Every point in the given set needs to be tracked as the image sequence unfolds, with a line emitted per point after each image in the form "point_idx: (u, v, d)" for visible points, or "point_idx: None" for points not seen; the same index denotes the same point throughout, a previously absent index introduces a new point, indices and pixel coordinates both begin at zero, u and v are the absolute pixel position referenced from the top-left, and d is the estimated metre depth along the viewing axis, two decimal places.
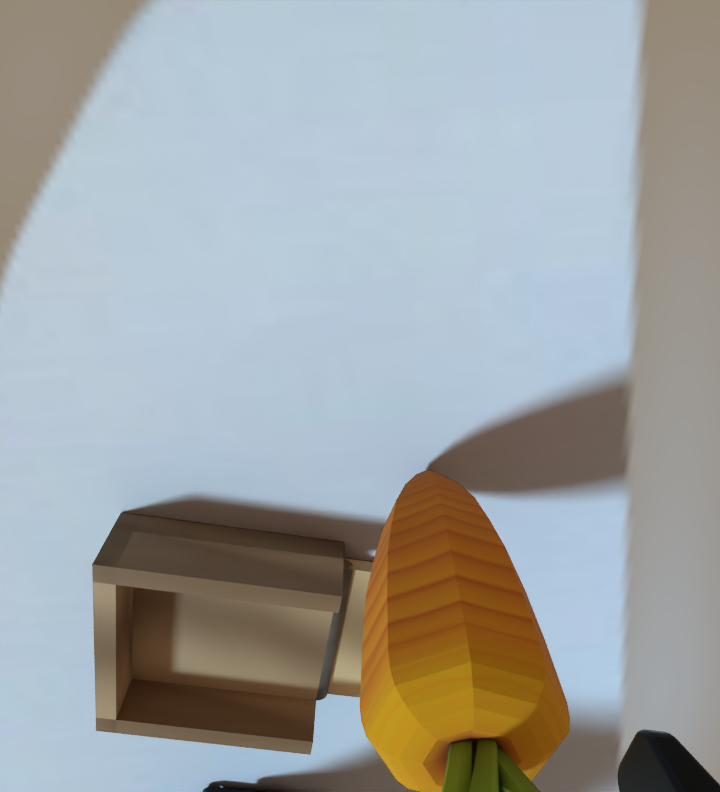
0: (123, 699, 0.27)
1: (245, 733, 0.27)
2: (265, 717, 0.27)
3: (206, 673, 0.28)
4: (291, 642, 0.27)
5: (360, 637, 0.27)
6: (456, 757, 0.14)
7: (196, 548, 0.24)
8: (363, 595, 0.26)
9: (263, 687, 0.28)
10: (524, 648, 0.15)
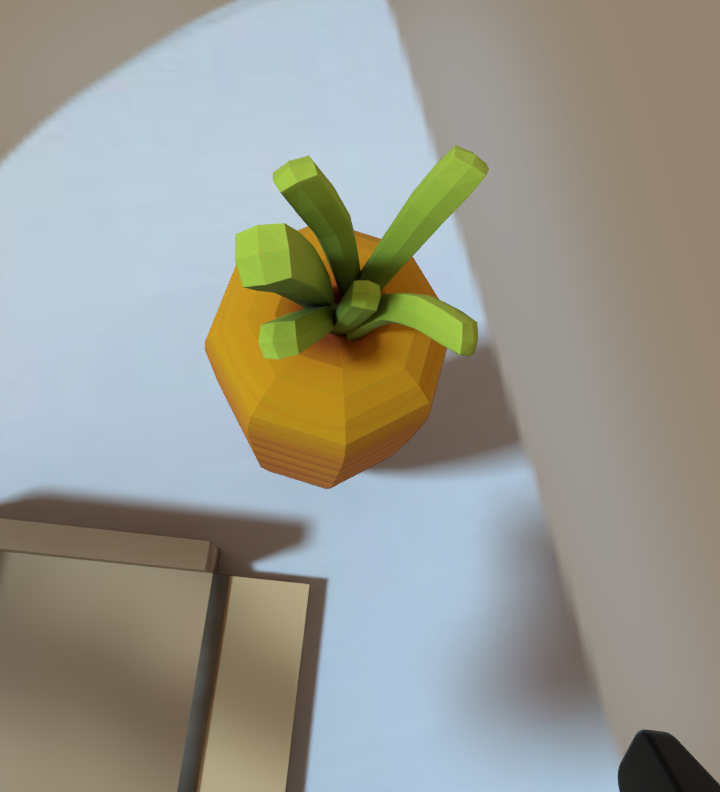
0: None
1: None
2: None
3: None
4: (138, 710, 0.19)
5: (240, 703, 0.19)
6: None
7: None
8: (243, 620, 0.20)
9: None
10: None
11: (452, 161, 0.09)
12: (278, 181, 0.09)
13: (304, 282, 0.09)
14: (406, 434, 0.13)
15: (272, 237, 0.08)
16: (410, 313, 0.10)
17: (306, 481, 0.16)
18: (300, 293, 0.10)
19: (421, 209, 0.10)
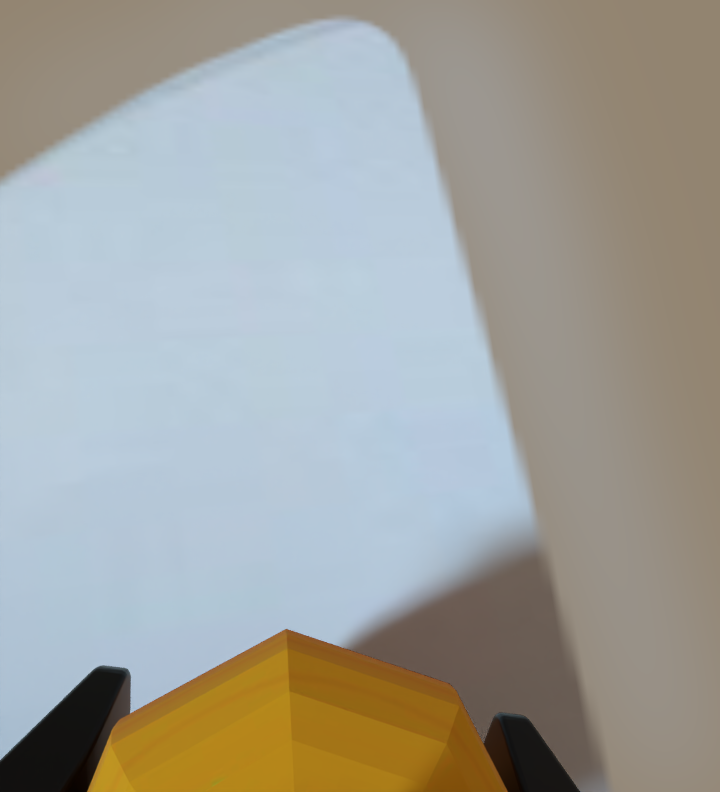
0: None
1: None
2: None
3: None
4: None
5: None
6: None
7: None
8: None
9: None
10: (411, 672, 0.07)
11: None
12: None
13: None
14: None
15: None
16: None
17: None
18: None
19: None
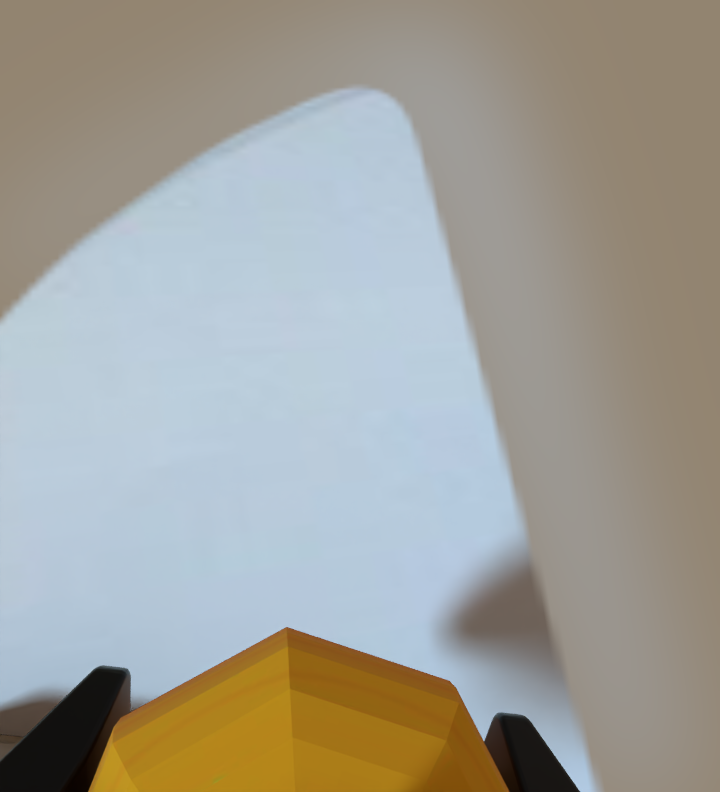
0: None
1: None
2: None
3: None
4: None
5: None
6: None
7: None
8: None
9: None
10: (411, 669, 0.07)
11: None
12: None
13: None
14: None
15: None
16: None
17: None
18: None
19: None
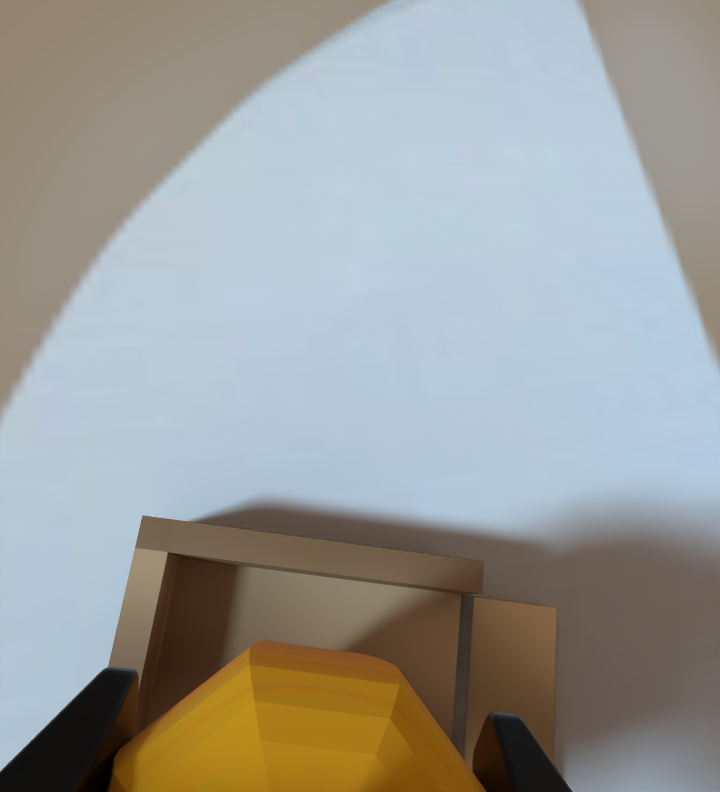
0: None
1: None
2: None
3: None
4: None
5: None
6: None
7: None
8: (492, 646, 0.19)
9: None
10: (362, 662, 0.08)
11: None
12: None
13: None
14: None
15: None
16: None
17: None
18: None
19: None
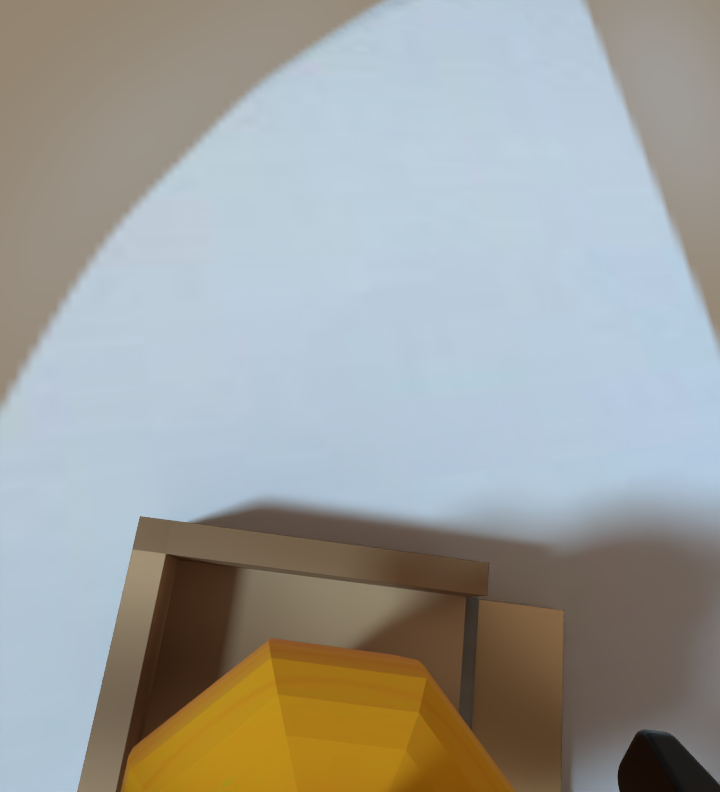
0: None
1: None
2: None
3: None
4: None
5: (503, 742, 0.17)
6: None
7: None
8: (498, 649, 0.18)
9: None
10: (384, 657, 0.08)
11: None
12: None
13: None
14: None
15: None
16: None
17: None
18: None
19: None
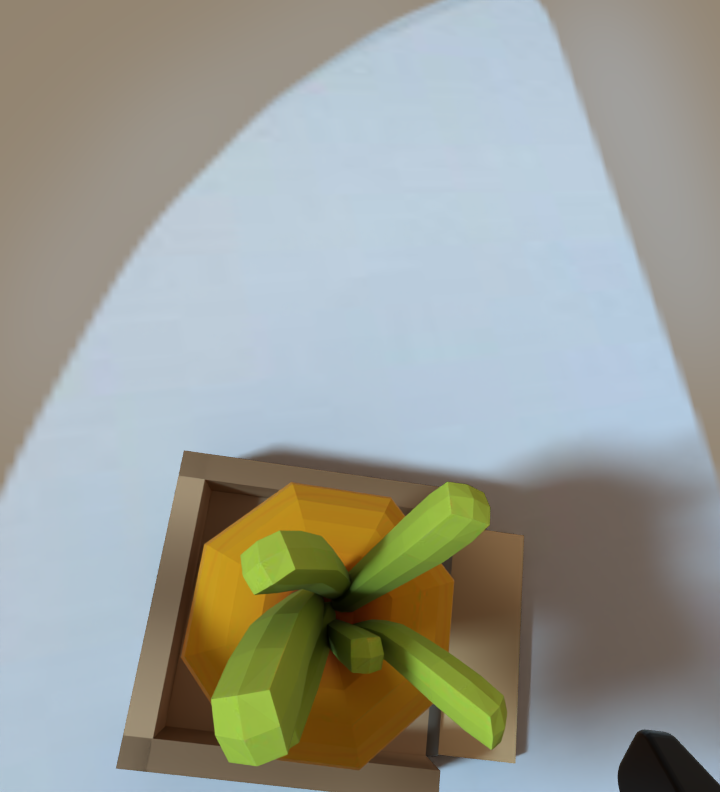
0: (159, 729, 0.19)
1: None
2: None
3: None
4: None
5: (472, 637, 0.22)
6: (296, 592, 0.10)
7: None
8: (469, 565, 0.22)
9: None
10: None
11: (449, 517, 0.08)
12: (249, 577, 0.08)
13: (299, 709, 0.07)
14: None
15: (257, 712, 0.06)
16: (424, 684, 0.08)
17: None
18: None
19: (417, 555, 0.08)
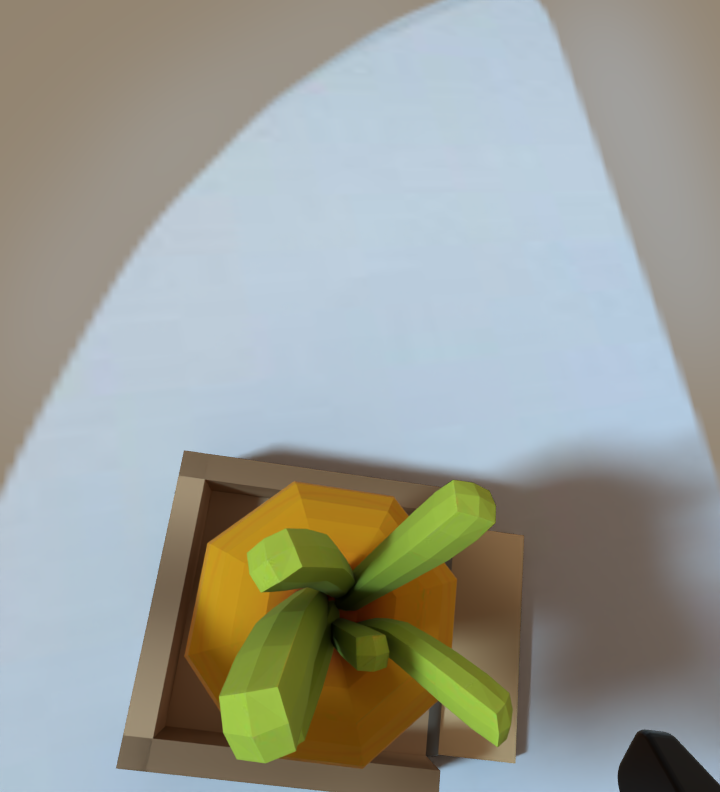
0: (159, 728, 0.19)
1: None
2: None
3: None
4: None
5: (473, 637, 0.22)
6: (300, 590, 0.10)
7: None
8: (469, 565, 0.22)
9: None
10: None
11: (455, 514, 0.08)
12: (255, 575, 0.08)
13: (306, 707, 0.07)
14: None
15: (266, 709, 0.06)
16: (428, 681, 0.08)
17: None
18: None
19: (422, 553, 0.08)
